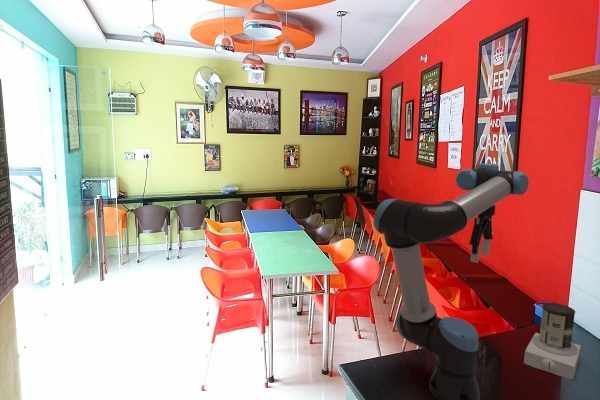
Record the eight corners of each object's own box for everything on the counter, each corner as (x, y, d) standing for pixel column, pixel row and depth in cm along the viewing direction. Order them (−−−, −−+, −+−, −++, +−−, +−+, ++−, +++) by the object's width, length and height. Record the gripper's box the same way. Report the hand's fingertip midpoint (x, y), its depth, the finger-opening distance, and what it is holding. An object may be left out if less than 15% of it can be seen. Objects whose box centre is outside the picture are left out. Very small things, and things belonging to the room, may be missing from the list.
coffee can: (563, 338, 149) (567, 303, 147) (576, 351, 139) (581, 314, 137) (534, 335, 151) (537, 301, 149) (545, 348, 141) (549, 311, 139)
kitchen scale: (523, 364, 141) (524, 349, 140) (534, 344, 156) (535, 330, 155) (572, 381, 131) (574, 365, 130) (579, 357, 146) (581, 343, 146)
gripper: (485, 208, 133) (480, 267, 136) (503, 202, 152) (499, 254, 154) (463, 206, 138) (458, 262, 141) (483, 200, 156) (479, 250, 159)
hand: (479, 258), depth 147 cm, fingers open, 13 cm apart
